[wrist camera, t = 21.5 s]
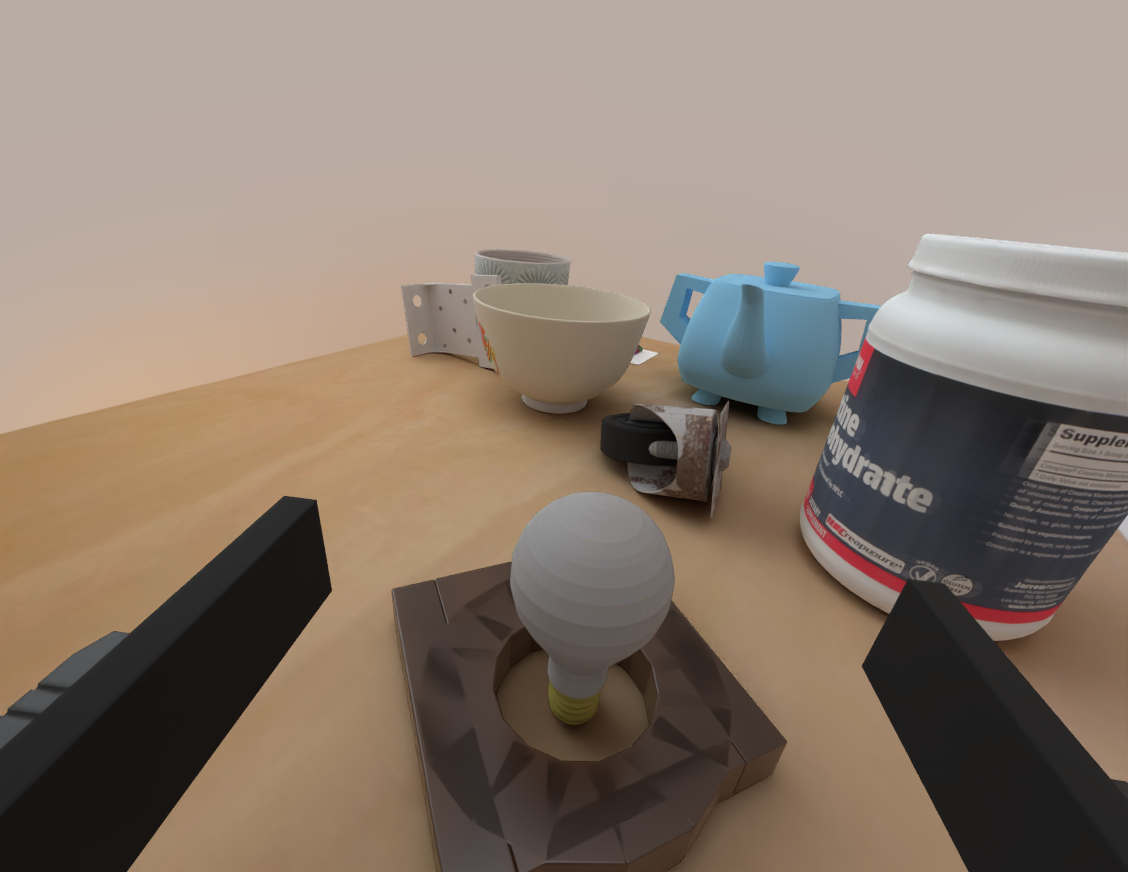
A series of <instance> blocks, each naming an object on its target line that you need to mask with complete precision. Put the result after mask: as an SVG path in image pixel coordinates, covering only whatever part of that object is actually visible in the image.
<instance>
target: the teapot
mask: <svg viewBox="0 0 1128 872" xmlns="http://www.w3.org/2000/svg"><path fill="white" fill-rule="evenodd" d="M799 269H800V267H798V266H797V265H793V264H789V263H782V262H766V263H764V272H765V277H759V276H751V275H742V274H729V275H725V276H721V277H719V278H716V279H715V280H714V279H709V278H704V277H700V276H695V275H691V274H686V273H683V274H678V275H677V276H676V279H675V281H674V284H673V287H672V290H671V293H670V295H669V298H668V301H667V303H666V306H665V309H664V312H663V315H662V317H661V320H660V322H661V324H662V325H663V326H665V328H666V329H667V330H668V331H669V332H670V333H671V335H672V336H673V337H674V338H675V339H676V340H677V341H678V342H679V343H680V345H681V346H680V350H679V354H678V367H679V371H680V375H681V378H682V380H683V381H684V382H685V383H687V384H689V385H691V386H693V387H696V388H699V390H698V391H697V392H696V393H695V394H694V395H693V396H692V399H693V400H694V401H695V402H698V403H701V404H705V405H716V404H718V403H719V401H720V399H721V397H726V398H729V399H733V400H736V401H740V402H744V403H748V404H753V405H757V406H758V414H757V416H758V418H760V419H761V420H763V421H765V422H768V423H772V424H780V425H781V424H786V423H787V418H786V412H785V411H789V412H805V411H808V410H809V409H810V408H811V407H812V406H813V405H814V404H816V403H817V402H818V401H819V400H820V399H821V397H822V396H823V395H824V394H825V393H826V391H827V390H828V389H829V387H830V385H831V384H832V383H834V382H837V381H841V380H844V379H848V378H850V377H851V375H852V372H853V369H854V367H855V364H856V361H857V359H858V356H859V353H860V351H861V348H862V345H863V343H864V340H865V337H866V335H867V332H868V326H869V324H870V323H871V321H872V320H873V318H874V316H875V314H876V313H877V311H878V310H879V309H880V308H881V307H882V306H880V305H872V304H864V303H856V302H849V301H841V300H840V293H839V292H838V290H836V289H832V288H828V287H822V286H817V285H811V284H806V283H800V282H793V281H792V280H793V279H794V277H795V276H796V274H797V273H798V271H799ZM693 290H695V291H697V292H700V293H703V294H704V295H703V297H702V299H701V301H700V302H699V304H698V306H697V308H696V310H695V312H694V314H693V315H692V317H691V319H690V318H689V317H688V316H687V315H686V314H687V310H688V306H689V303H690V299H691V296H692V292H693ZM841 319H864V320H867V322H866V326H865V329H864V333H863V337H862V340H861V344H860V348H859V350H858V351H855V352H851V353H847V354H844V355H840V356H839V353H840V346H841Z"/></svg>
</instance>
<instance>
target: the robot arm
mask: <svg viewBox="0 0 1128 872" xmlns="http://www.w3.org/2000/svg"><path fill="white" fill-rule="evenodd" d="M331 591H332V588H331V582H330V576H329V570H328V564H327V558H326V553H325V547H324V541H323V535H322V529H321V523H320V517H319V512H318V506H317V500H312V499H304V498H297V497H289V496H284V497H282V498H281V499H280V500H279V501H278V502H277V503H276V504H275V505H273V506H272V507H271V508H270V509H269V510H268V511H267V512H266V513H264V514H263V515H262V516H261V517H260V518H259V519H258V520H257V521H255V522H254V523H253V524H252V525H251V526H250V527H249V528H248V529H247V530H245V531H244V532H243V533H242V534H241V535H240V536H239V537H238V538H236V539H235V540H234V541H233V542H232V543H231V544H230V545H229V546H227V547H226V548H225V549H224V550H223V551H222V552H221V553H220V554H218V555H217V556H216V557H215V558H214V559H213V560H212V561H211V562H209V563H208V564H207V565H206V566H205V567H204V568H203V569H202V570H201V571H199V572H198V573H197V574H196V575H195V576H194V577H193V578H192V579H190V580H189V581H188V582H187V583H186V584H185V585H184V586H183V587H181V588H180V589H179V590H178V591H177V592H176V593H175V594H174V595H172V596H171V597H170V598H169V599H168V600H167V601H166V602H165V603H164V604H162V605H161V606H160V607H159V608H158V609H157V610H156V611H155V612H153V613H152V614H151V615H150V616H149V617H148V618H147V619H146V620H144V621H143V622H142V623H141V624H140V625H139V626H138V627H137V628H135V629H134V630H133V631H132V632H131V633H124V632H118V631H113V632H111V633H110V634H108V635H106V636H104V637H103V638H101V639H99V640H97V641H96V642H94V643H92V644H90V645H89V646H87V647H85V648H83V649H81V650H80V651H78V652H76V653H74V654H73V655H72V656H71V657H69V658H68V659H67V660H66V661H65V662H63V663H62V664H61V665H60V666H59V667H57V668H56V669H55V670H54V671H53V672H51V673H50V674H49V675H48V676H47V677H45V678H44V679H43V680H42V681H41V682H39V683H38V687H37V688H36V689H35V690H30V691H29V692H27V693H26V694H25V695H24V696H23V697H22V698H20V699H19V700H18V701H17V702H16V703H14V704H13V705H12V706H11V707H10V708H8V711H7V713H6V714H5V715H4V716H0V872H127V871H128V870H129V868H130V867H131V865H132V864H133V863H134V861H135V860H136V859H137V857H138V856H139V854H140V853H141V852H142V850H143V849H144V848H145V846H146V845H147V843H148V842H149V841H150V839H151V838H152V837H153V835H154V834H155V833H156V831H157V830H158V828H159V827H160V826H161V824H162V823H163V822H164V820H165V819H166V817H167V816H168V815H169V813H170V812H171V811H172V809H173V808H174V806H175V805H176V804H177V802H178V801H179V800H180V798H181V797H182V796H183V794H184V793H185V791H186V790H187V789H188V787H189V786H190V785H191V783H192V782H193V780H194V779H195V778H196V776H197V775H198V774H199V772H200V771H201V769H202V768H203V767H204V765H205V764H206V763H207V761H208V760H209V759H210V757H211V756H212V754H213V753H214V752H215V750H216V749H217V748H218V746H219V745H220V743H221V742H222V741H223V739H224V738H225V737H226V735H227V734H228V732H229V731H230V730H231V728H232V727H233V726H234V724H235V723H236V721H237V720H238V719H239V717H240V716H241V715H242V713H243V712H244V711H245V709H246V708H247V706H248V705H249V704H250V702H251V701H252V700H253V698H254V697H255V695H256V694H257V693H258V691H259V690H260V689H261V687H262V686H263V684H264V683H265V682H266V680H267V679H268V678H269V676H270V675H271V674H272V672H273V671H274V669H275V668H276V667H277V665H278V664H279V663H280V661H281V660H282V658H283V657H284V656H285V654H286V653H287V652H288V650H289V649H290V647H291V646H292V645H293V643H294V642H295V641H296V639H297V638H298V637H299V635H300V634H301V632H302V631H303V630H304V628H305V627H306V626H307V624H308V623H309V621H310V620H311V619H312V617H313V616H314V615H315V613H316V612H317V610H318V609H319V608H320V606H321V605H322V604H323V602H324V601H325V599H326V598H327V597H328V595H329V594H330V593H331ZM862 668H863V669H864V671H865V673H866V675H867V677H868V679H869V681H870V683H871V685H872V687H873V689H874V691H875V693H876V694H877V696H878V698H879V700H880V702H881V704H882V706H883V708H884V710H885V712H886V714H887V716H888V718H889V719H890V721H891V723H892V725H893V727H894V729H895V731H896V733H897V735H898V737H899V739H900V741H901V743H902V744H903V746H904V748H905V750H906V752H907V754H908V756H909V758H910V760H911V762H912V764H913V766H914V768H915V769H916V771H917V773H918V775H919V777H920V779H921V781H922V783H923V785H924V787H925V789H926V791H927V793H928V794H929V796H930V798H931V800H932V802H933V804H934V806H935V808H936V810H937V812H938V814H939V816H940V818H941V820H942V821H943V823H944V825H945V827H946V829H947V831H948V833H949V835H950V837H951V839H952V841H953V843H954V845H955V846H956V848H957V850H958V852H959V854H960V856H961V858H962V860H963V862H964V864H965V866H966V868H967V870H968V871H969V872H1128V783H1127V782H1126V781H1119V780H1113V779H1110V778H1109V777H1108V775H1107V774H1106V773H1105V772H1104V771H1103V770H1102V768H1101V767H1100V766H1099V765H1098V764H1097V762H1096V761H1095V760H1094V759H1093V758H1092V757H1091V755H1090V754H1089V753H1088V752H1087V751H1086V750H1085V748H1084V747H1083V746H1082V745H1081V744H1080V742H1079V741H1078V740H1077V739H1076V738H1075V737H1074V735H1073V734H1072V733H1071V732H1070V731H1069V729H1068V728H1067V727H1066V726H1065V725H1064V724H1063V722H1062V721H1061V720H1060V719H1059V718H1058V716H1057V715H1056V714H1055V713H1054V712H1053V711H1052V709H1051V708H1050V707H1049V706H1048V705H1047V703H1046V702H1045V701H1044V700H1043V699H1042V698H1041V696H1040V695H1039V694H1038V693H1037V692H1036V690H1035V689H1034V688H1033V687H1032V686H1031V685H1030V683H1029V682H1028V681H1027V680H1026V679H1025V677H1024V676H1023V675H1022V674H1021V673H1020V672H1019V670H1018V669H1017V668H1016V667H1015V666H1014V664H1013V663H1012V662H1011V661H1010V660H1009V659H1008V657H1007V656H1006V655H1005V654H1004V653H1003V651H1002V650H1001V649H1000V648H999V647H998V646H997V644H996V643H995V642H994V641H993V640H992V638H991V637H990V636H989V635H988V634H987V633H986V631H985V630H984V629H983V628H982V627H981V626H980V624H979V623H978V622H977V621H976V620H975V618H974V617H973V616H972V615H971V614H970V613H969V611H968V610H967V609H966V608H965V607H964V605H963V604H962V603H961V602H960V601H959V600H958V598H957V597H956V596H955V595H954V594H953V592H952V591H951V590H950V589H949V588H948V587H947V585H946V584H945V583H937V582H930V581H922V580H915V579H908V580H907V581H906V583H905V585H904V587H903V589H902V591H901V593H900V595H899V597H898V599H897V600H896V602H895V604H894V606H893V608H892V610H891V612H890V614H889V616H888V617H887V619H886V621H885V623H884V625H883V627H882V629H881V631H880V633H879V634H878V636H877V638H876V640H875V642H874V644H873V646H872V648H871V650H870V651H869V653H868V655H867V657H866V659H865V661H864V663H863V665H862Z"/></svg>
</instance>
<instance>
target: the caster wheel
mask: <svg viewBox="0 0 1128 872" xmlns="http://www.w3.org/2000/svg"><path fill="white" fill-rule="evenodd" d="M728 409H729V401H728V402H727V404H726V405H725V407H724V409H723V410H722V412H721V414H720V422H719V432H718V422H717V411H716V410H715V409H703V408H690V407H678V406H665V405H652V404H640V403H636V404H634V405H633V406H632V409H631V412H630V413H622V414H615V415H610V416H607V417H605V418H603V419H602V427H601V448H600V449H601V451H602V452H603V453H604V454H605V455H607V456H609V457H612V458H614V459H617V460H621V461H624V462H627V467H628V476H629V480H630V483H631V485H632V486H633V487H634V489H636V490H637V491H640V492H643V493H650V494H657V495H664V496H671V497H678V498H686V499H693V500H700V501H707V499H708V497H709V493H710V489H711V485H712V481H713V478H714V486H713V496H712V507H711V518H712V517H713V513H714V510H715V507H716V503H717V500H718V496H719V493H720V489H721V483H722V472H723V471H725V470H726V469H727V468H728V467H729V461H730V452H731V446H730V444H729V443H728V442H727V441H725V440H726V430H727V419H728Z"/></svg>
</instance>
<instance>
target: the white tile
mask: <svg viewBox="0 0 1128 872" xmlns="http://www.w3.org/2000/svg"><path fill="white" fill-rule="evenodd" d="M657 354H658V353H656V352H652V351H648V350H643V348H641V347H640V346H639V345H638V347H637V349H636V352H635V354H634V356H633V358H632V361H631V363H633V364H637V365H639V364H641V363H643V362H645V361H646V360H648V359H650V358H652V357H653V356H655V355H657Z"/></svg>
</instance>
